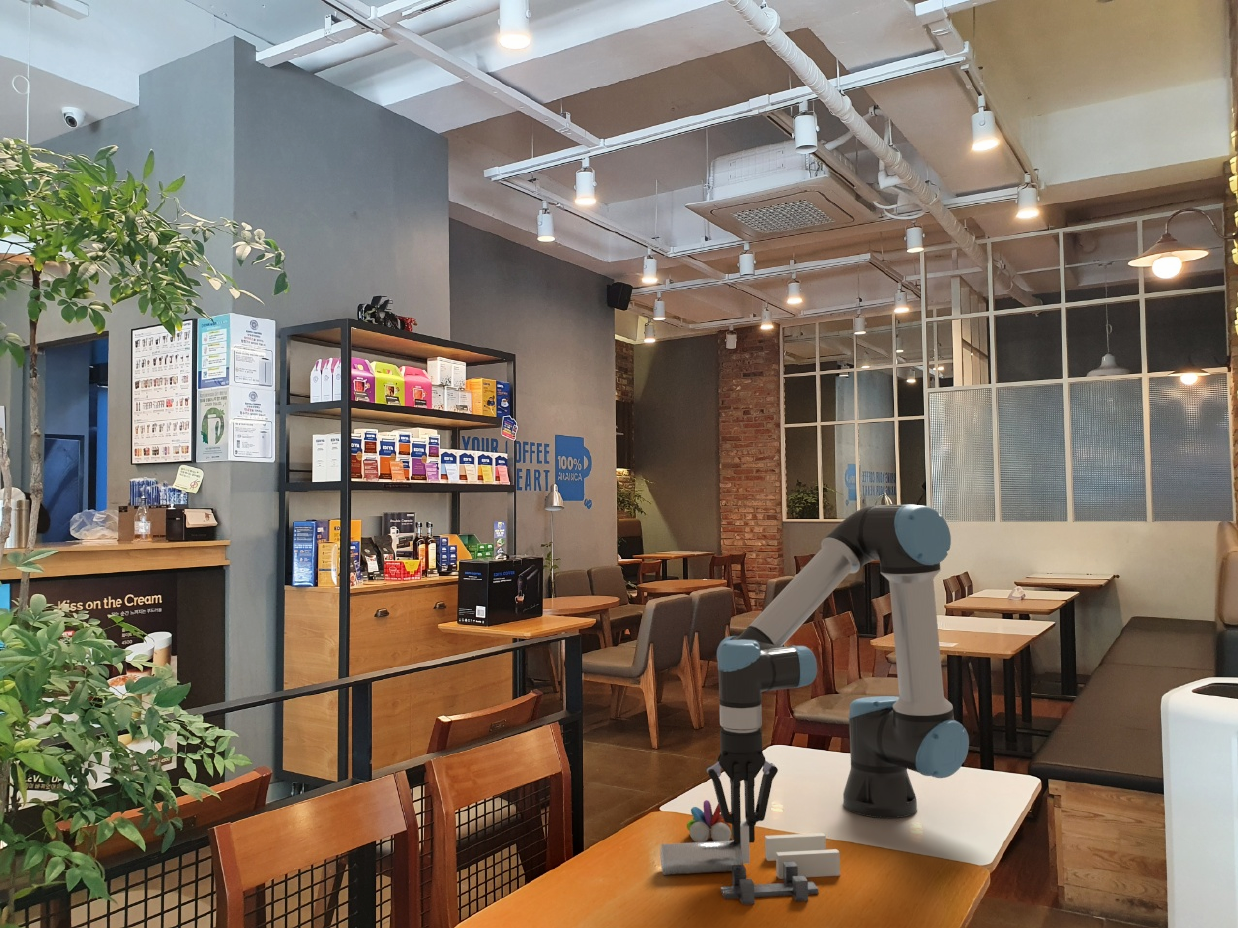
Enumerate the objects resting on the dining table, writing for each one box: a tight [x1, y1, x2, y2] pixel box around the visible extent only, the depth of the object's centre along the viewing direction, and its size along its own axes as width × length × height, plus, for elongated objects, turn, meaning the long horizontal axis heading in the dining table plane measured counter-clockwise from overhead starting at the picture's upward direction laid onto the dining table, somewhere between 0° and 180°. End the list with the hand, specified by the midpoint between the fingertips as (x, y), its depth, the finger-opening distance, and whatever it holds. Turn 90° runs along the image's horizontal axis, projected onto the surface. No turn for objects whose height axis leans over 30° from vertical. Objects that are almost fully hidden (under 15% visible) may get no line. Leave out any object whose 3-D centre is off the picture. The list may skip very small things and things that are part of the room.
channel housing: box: [764, 832, 841, 880], centre depth 165 cm, size 11×10×4 cm
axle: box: [660, 840, 744, 876], centre depth 164 cm, size 14×5×5 cm, turn 95°
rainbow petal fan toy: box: [686, 799, 732, 843], centre depth 180 cm, size 8×10×7 cm
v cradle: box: [720, 862, 819, 906], centre depth 154 cm, size 16×8×3 cm, turn 95°
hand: (744, 860), depth 164 cm, fingers closed
